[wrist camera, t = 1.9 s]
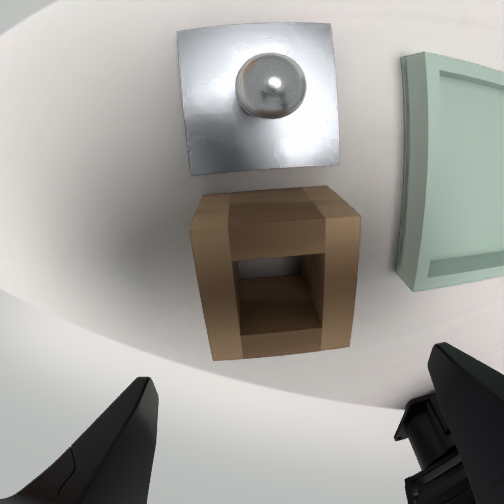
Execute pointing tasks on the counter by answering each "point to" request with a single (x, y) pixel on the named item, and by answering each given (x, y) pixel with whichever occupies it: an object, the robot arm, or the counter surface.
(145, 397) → the robot arm
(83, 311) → the counter surface
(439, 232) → the sage tray
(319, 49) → the stand
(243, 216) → the walnut block
